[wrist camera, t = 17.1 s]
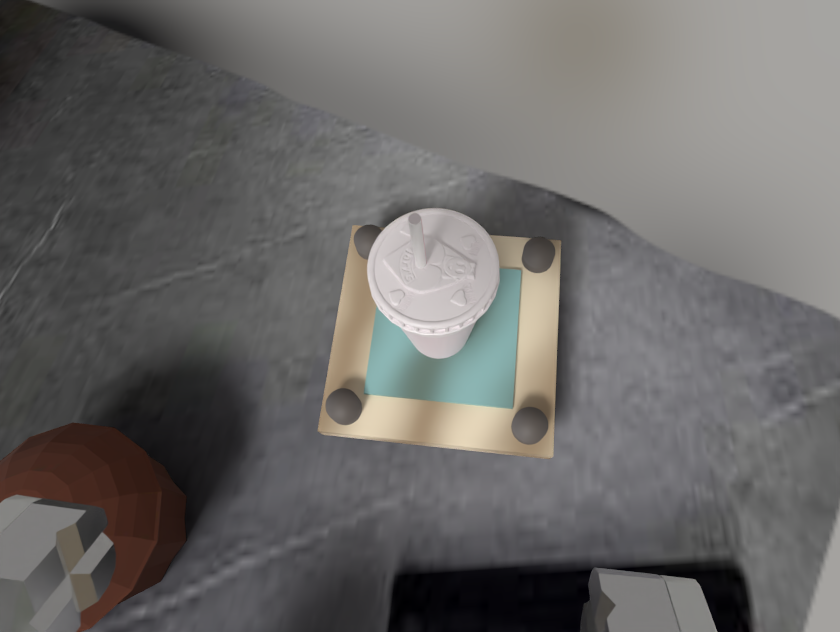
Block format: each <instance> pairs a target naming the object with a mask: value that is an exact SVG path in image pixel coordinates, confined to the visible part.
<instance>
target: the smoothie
mask: <svg viewBox="0 0 840 632" xmlns="http://www.w3.org/2000/svg"><path fill="white" fill-rule="evenodd" d="M367 276H368V282H369V286H370V290H371V295H372V298H373V299H374V301H375V303H376V305H377V307H378V308H379V310H380V311H381V312H382V313H383V314H384V315H385V316H386V317H387V318H388V319H389V320H390V321H391V322H392V323H393V324H395V325H397V326H399V327H401V329H402V330H403V331H404V333H405V334H406V335H407V337H408V338H409V339H410V341H411V342H412V343H413V345H414V346H415V347H416V348H417V350H418V351H419V352H421V353H422V354H424V355H426V356H428V357H431V358H436V359H442V358H448V357H450V356H453V355H455V354H456V353H458V352H459V351H460V350H461V349H462V348H463V347H464V345H465V343H466V341H467V339H468V337H469V335H470V333H471V331H472V329H473V327H474V325H475V323H476V321H477V320H478V319H479V318H480V317H481V316H482V315H483V314H484V313H485V312H486V311H487V310H488V308H489V306H490V305H491V303H492V302H493V300H494V298H495V296H496V293H497V289H498V285H499V282H500V272H499V257H498V253H497V250H496V247H495V244H494V242H493V240H492V239H491V237H490V236H489V234H488V233H487V232H486V230H485V229H484V228H483V227H482V226H481V225H480V224H478V223H477V222H476V221H474V220H473V219H472V218H470V217H468V216H466V215H464V214H462V213H459V212H456V211H453V210H449V209H443V208H427V209H421V210H416V211H413V212H410V213H407V214H405V215H403V216H401V217H399V218H397V219H396V220H394V221H393V222H392V223H390V224H389V225H388V226H387V227H386V228H385V229H384V230H383V231H382V232H381V233H380V234H379V236H378V237H377V239H376V240H375V242H374V244H373V246H372V248H371V251H370V254H369V258H368V264H367Z"/></svg>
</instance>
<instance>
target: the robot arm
mask: <svg viewBox="0 0 840 632" xmlns="http://www.w3.org/2000/svg"><path fill="white" fill-rule="evenodd" d="M108 524H109V523H108V520H107V517H106V514H105V510H104V509H103V508H100V507H97V506H91V505H84V504H78V503H71V502H65V501H58V500H52V499H45V498H36V497H29V496H22V495H14V496H11V497H9V498H6V499H4V500H3V501H2V502H1V503H0V632H76V631H77V630H78V628H79V627H80V626H81V611H83V610H85V609H86V608H88V607H90V606H91V605H93V604H94V603H96V602H98V601H99V599H100V598H101V596H102V595H103V593H104V592H105V590H106V589H107V588H108V586H109V584H110V581H111V578H112V576H113V573H114V570H115V566H116V551H115V547H114V543H113V542H112V541H111V540H110V539H109V538H108V537H107V536H106V535H105V534H104V533H103V531H104V529H105V528H106V527H107V525H108ZM588 585H589V592H590V599H591V600H590V601H589V602H587V603H586V604H584V607H583V613H582V618H581V630H580V632H717V630H716V627H715V625H714V622H713V619H712V616H711V614H710V611H709V608H708V606H707V603H706V600H705V598H704V595H703V592H702V590H701V587H700V585H699V584H698V583H697V582H696V580H695V579H687V578H679V577H670V576H662V575H661V576H658V575H655V574H646V573H637V572H629V571H620V570H611V569H602V568H594V569H593V571H592V573H591V576H590V580H589V584H588Z"/></svg>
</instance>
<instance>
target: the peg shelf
mask: <svg viewBox="0 0 840 632" xmlns="http://www.w3.org/2000/svg"><path fill="white" fill-rule="evenodd" d="M384 229H385V228H384V227H377V226H375V225H365V226H356V225H353V227H352V233H351V239H350V244H349V250H348V256H347V262H346V268H345V274H344V280H343V285H342V291H341V297H340V303H339V309H338V315H337V320H336V326H335V332H334V338H333V344H332V350H331V356H330V361H329V367H328V373H327V379H326V385H325V391H324V397H323V402H322V408H321V414H320V420H319V426H318V431H319V432H320V433H321V434H323V435H331V436H340V437H349V438H359V439H368V440H377V441H386V442H396V443H405V444H414V445H424V446H433V447H442V448H451V449H461V450H470V451H479V452H489V453H498V454H507V455H516V456H526V457H535V458H544V459H550V458H551V457H553V446H554V419H555V393H556V366H557V339H558V313H559V286H560V259H561V240H550V239H546V238H544V237H534V238H522V237H508V236H495V235H489V236H490V237H491V239H492V240H493V242H494V244H495V247H496V250H497V253H498V257H499V272H500V282H499V285H498V289H497V293H496V296H495V298H494V300H493V302H492V303H491V305H490V306H489V308H488V310H487V311H486V312H485V313H484V314H483V315H482V316H481V317H480V318H479V319H478V320H477V321H476V323H475V325H474V327H473V329H472V331H471V333H470V335H469V337H468V339H467V341H466V343H465V345H464V347H463V348H462V349H461V350H460V351H459V352H458V353H456V354H455V355H453V356H450V357H448V358H442V359H436V358H431V357H428V356H426V355H424V354H422V353H421V352H419V351H418V350H417V348H416V347H415V346H414V345H413V343H412V342H411V341H410V339H409V338H408V337H407V335H406V334H405V333H404V331H403V330H402V329H401V327H399V326H397V325H395V324H393V323H392V322H391V321H390V320H389V319H388V318H387V317H386V316H385V315H384V314H383V313H382V312H381V311H380V310H379V308H378V307H377V305H376V303H375V301H374V299H373V298H372V295H371V290H370V286H369V282H368V276H367V264H368V258H369V254H370V251H371V248H372V246H373V244H374V242H375V240H376V239H377V237H378V236H379V234H380V233H381V232H382V231H383V230H384Z"/></svg>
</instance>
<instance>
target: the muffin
mask: <svg viewBox="0 0 840 632" xmlns="http://www.w3.org/2000/svg"><path fill="white" fill-rule="evenodd" d="M14 495H22V496H29V497H36V498H45V499H52V500H58V501H65V502H71V503H78V504H84V505H91V506H97V507H100V508H103V509H104V510H105V514H106V517H107V520H108V523H109V524H108V525H107V527H106V528H105V529H104V531H103V533H104V534H105V535H106V536H107V537H108V538H109V539H110V540H111V541H112V542H113V543H114V547H115V551H116V566H115V570H114V573H113V576H112V578H111V581H110V584H109V586H108V588H107V589H106V590H105V592H104V593H103V595H102V596H101V598H100V599H99V601H98V602H96V603H94V604H93V605H91V606H90V607H88V608H86V609H85V610H83V611H81V626H80V627H79V628H78V630H77V631H76V632H81V631H84V630H87V629H90V628H91V627H92V626H94V625H95V624H96V623H97V622H98V621H99V620H100V619H101V618H102V617H103V616H105V615H106V614H107V613H108V612H109V611H110V610H111V609H112V608H113V607H114V606H115V605H117V604H119V603H121V602H123V601H125V600H126V599H128V598H130V597H132V596H134V595H136V594H138V593H140V592H142V591H144V590H145V589H147V588H149V587H151V586H153V585H155V584H157V583H159V582H161V580H162V578H163V576H164V574H165V572H166V570H167V568H168V567H169V565H170V563H171V561H172V559H173V558H174V556H175V555H176V554H177V552H178V551H179V550H180V548H181V547H182V546H183V544H184V543H185V542H186V531H185V509H186V499H187V496H186V495H185V494H184V493H183V492H182V491H181V490H180V489H179V488H178V487H177V486H176V484H175V483H174V482H173V481H172V479H171V477H170V476H169V474H168V472H167V471H166V469H165V467H164V466H163V465H162V464H160V463H159V462H157V461H155V460H154V459H152V458H151V457H149V456H148V455H147V453H146V451H144V450H143V449H142V448H141V447H139V446H138V445H137V444H135V443H134V442H133V441H131V440H130V439H129V438H127V437H126V436H125V435H124V434H122V433H121V432H120V431H118V430H117V429H116V428H114V427H105V426H97V425H89V424H80V423H71V424H68V425H65V426H62V427H59V428H56V429H53V430H50V431H47V432H44V433H41V434H38V435H35V436H32V437H29V438H28V439H27V440H25V441H24V442H23V443H22V444H21V445H19V446H18V447H17V448H16V449H14V450H13V451H12V452H11V453H10V454H8V455H7V456H6V457H5V458H3V459H2V460H1V461H0V503H1V502H2V501H3V500H4V499H6V498H9V497H11V496H14Z"/></svg>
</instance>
